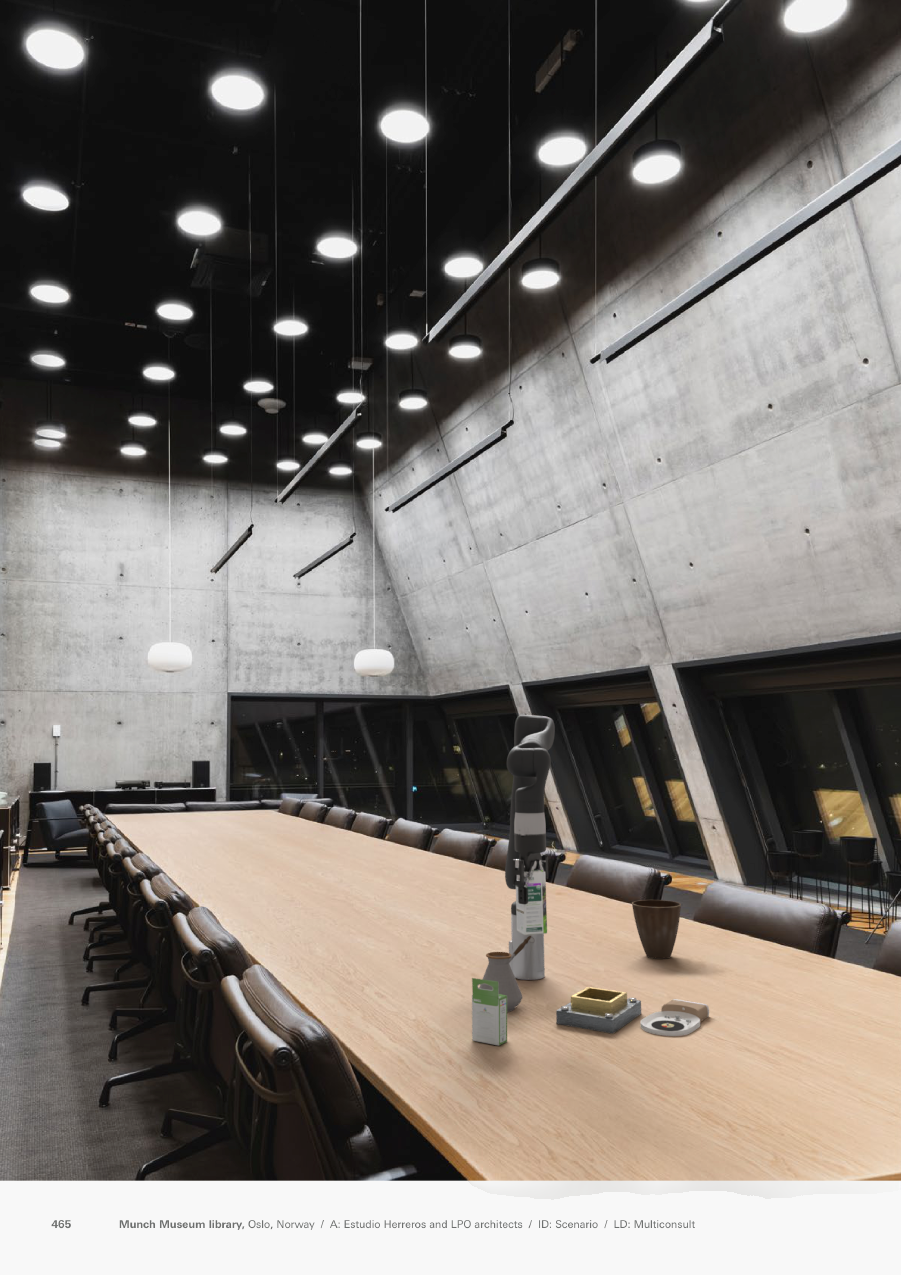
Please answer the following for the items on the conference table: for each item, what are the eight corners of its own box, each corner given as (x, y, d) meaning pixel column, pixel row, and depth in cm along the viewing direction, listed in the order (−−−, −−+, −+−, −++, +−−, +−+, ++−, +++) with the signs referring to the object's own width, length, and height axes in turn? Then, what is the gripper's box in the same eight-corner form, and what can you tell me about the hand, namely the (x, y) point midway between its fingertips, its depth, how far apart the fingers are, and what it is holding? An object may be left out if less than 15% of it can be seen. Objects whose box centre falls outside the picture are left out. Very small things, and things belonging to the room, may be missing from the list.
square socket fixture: (556, 1024, 205) (556, 999, 205) (587, 1005, 220) (587, 982, 220) (613, 1033, 197) (612, 1008, 198) (641, 1013, 212) (640, 990, 213)
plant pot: (623, 954, 276) (622, 901, 278) (662, 949, 282) (660, 898, 284) (654, 964, 262) (652, 908, 265) (693, 958, 269) (691, 905, 271)
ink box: (508, 1042, 192) (507, 978, 194) (499, 1047, 189) (498, 982, 191) (481, 1036, 196) (480, 974, 198) (471, 1041, 193) (471, 977, 194)
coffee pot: (505, 1018, 210) (505, 952, 212) (467, 1009, 217) (466, 946, 219) (551, 998, 227) (550, 937, 229) (514, 991, 233) (513, 932, 235)
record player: (713, 1005, 209) (680, 1027, 193) (714, 1019, 209) (681, 1042, 193) (667, 997, 216) (631, 1018, 200) (667, 1011, 216) (632, 1032, 200)
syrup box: (524, 935, 205) (523, 872, 207) (516, 930, 210) (515, 868, 212) (547, 934, 206) (546, 871, 208) (538, 929, 212) (537, 867, 214)
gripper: (529, 828, 219) (530, 895, 217) (502, 833, 207) (502, 904, 205) (557, 830, 215) (558, 898, 213) (530, 834, 203) (531, 907, 201)
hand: (531, 901), depth 209 cm, fingers closed on syrup box, 8 cm apart
